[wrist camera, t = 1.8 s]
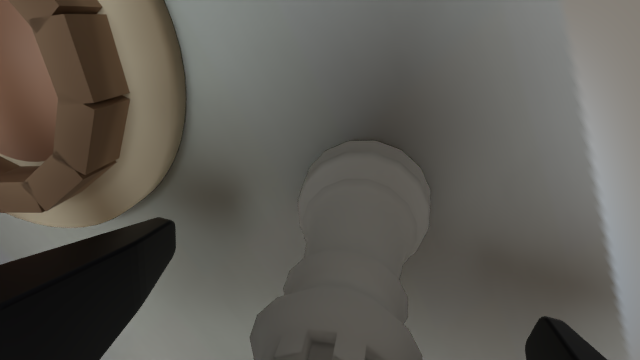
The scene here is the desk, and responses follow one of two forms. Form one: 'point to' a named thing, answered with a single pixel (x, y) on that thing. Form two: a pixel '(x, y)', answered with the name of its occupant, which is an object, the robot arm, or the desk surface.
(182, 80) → the well tray
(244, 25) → the desk surface
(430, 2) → the desk surface
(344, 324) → the rook chess piece
